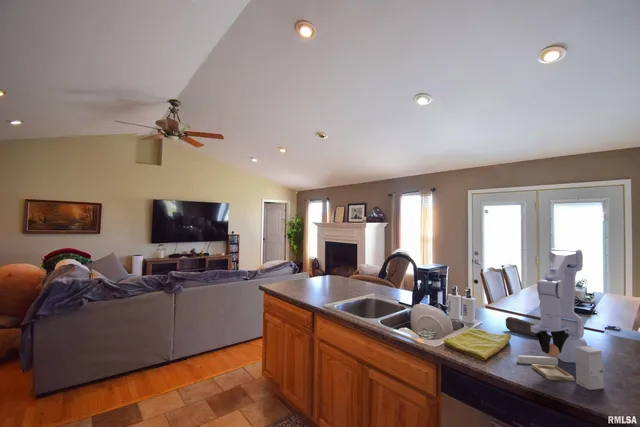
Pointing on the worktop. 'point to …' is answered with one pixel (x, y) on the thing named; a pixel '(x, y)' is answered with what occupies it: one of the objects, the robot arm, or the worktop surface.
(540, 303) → the robot arm
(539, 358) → the bar
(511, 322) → the perforated stone tool
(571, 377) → the tray
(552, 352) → the ball
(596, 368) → the skincare box
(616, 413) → the worktop surface
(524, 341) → the worktop surface
